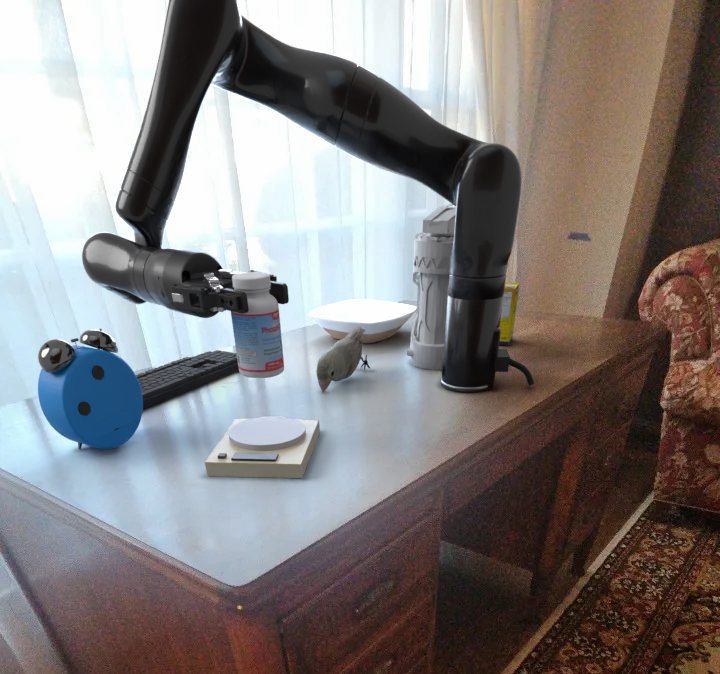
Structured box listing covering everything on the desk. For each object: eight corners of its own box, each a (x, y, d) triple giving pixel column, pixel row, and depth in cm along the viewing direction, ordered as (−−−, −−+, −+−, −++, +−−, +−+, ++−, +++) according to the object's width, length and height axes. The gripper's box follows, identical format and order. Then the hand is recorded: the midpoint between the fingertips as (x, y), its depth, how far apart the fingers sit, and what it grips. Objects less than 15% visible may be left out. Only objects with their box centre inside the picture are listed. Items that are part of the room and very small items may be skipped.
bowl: (353, 320, 144) (353, 296, 140) (428, 331, 134) (429, 306, 130) (297, 339, 130) (295, 313, 127) (375, 353, 121) (375, 325, 117)
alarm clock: (128, 426, 92) (98, 321, 82) (155, 433, 89) (127, 326, 79) (57, 455, 83) (14, 343, 73) (85, 464, 81) (44, 349, 71)
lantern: (449, 373, 110) (462, 210, 93) (400, 366, 114) (405, 209, 97) (474, 356, 118) (490, 204, 102) (428, 350, 122) (436, 203, 106)
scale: (319, 432, 88) (318, 414, 86) (302, 478, 76) (300, 458, 74) (237, 431, 89) (234, 413, 87) (207, 476, 77) (203, 456, 75)
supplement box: (512, 339, 127) (520, 282, 120) (508, 346, 123) (516, 287, 116) (485, 337, 129) (492, 281, 122) (481, 344, 125) (487, 286, 117)
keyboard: (210, 357, 121) (208, 347, 119) (252, 365, 116) (250, 354, 115) (69, 410, 98) (65, 398, 97) (114, 421, 93) (111, 408, 92)
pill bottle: (276, 381, 74) (266, 280, 67) (232, 378, 75) (217, 279, 68) (290, 366, 79) (282, 271, 71) (248, 364, 80) (236, 270, 72)
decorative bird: (309, 391, 103) (305, 345, 98) (348, 366, 114) (347, 324, 109) (335, 395, 101) (333, 348, 96) (373, 369, 112) (373, 327, 107)
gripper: (131, 256, 72) (213, 270, 63) (222, 243, 80) (306, 254, 71) (146, 322, 77) (225, 344, 68) (230, 304, 85) (310, 321, 76)
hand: (266, 298), depth 70 cm, fingers closed on pill bottle, 6 cm apart
